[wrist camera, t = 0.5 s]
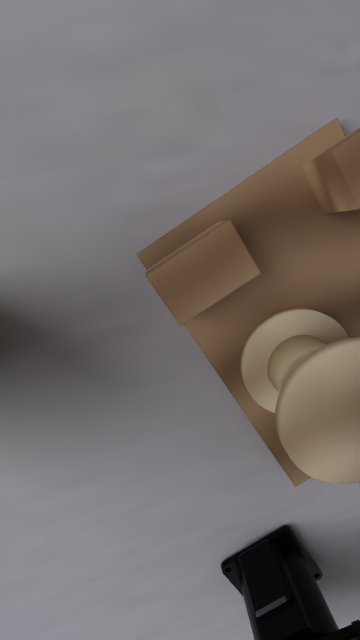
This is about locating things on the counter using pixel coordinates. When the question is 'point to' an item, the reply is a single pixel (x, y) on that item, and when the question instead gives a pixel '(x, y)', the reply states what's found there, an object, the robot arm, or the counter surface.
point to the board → (267, 259)
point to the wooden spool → (308, 390)
